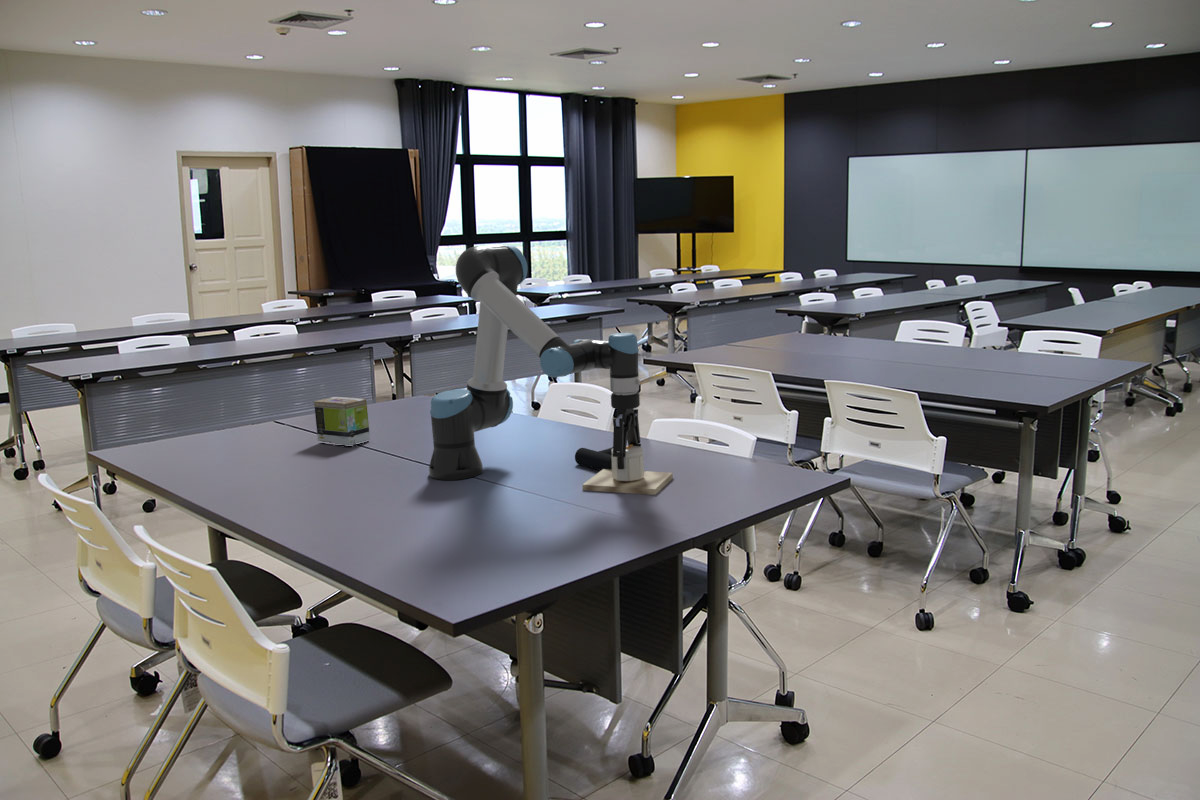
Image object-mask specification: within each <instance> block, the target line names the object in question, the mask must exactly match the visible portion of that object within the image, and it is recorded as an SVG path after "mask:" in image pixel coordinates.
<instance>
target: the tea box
mask: <svg viewBox="0 0 1200 800" xmlns="http://www.w3.org/2000/svg"><path fill="white" fill-rule="evenodd" d="M367 402H368V401H367V399H366V398H359V397H346V396H345V397H344V396H343V397H342V396H332V397H328V398H324V399H319V400H314V401H313V404H314V414H315V426H316V435H317V442H318V441H322V442H329V443H335V444H342V445H352V444H356V443H359V442H362V441H366V440H370V441H371V437H370V436H371V435H370V426H369V423H370V422H369V413H368V403H367Z"/></svg>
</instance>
